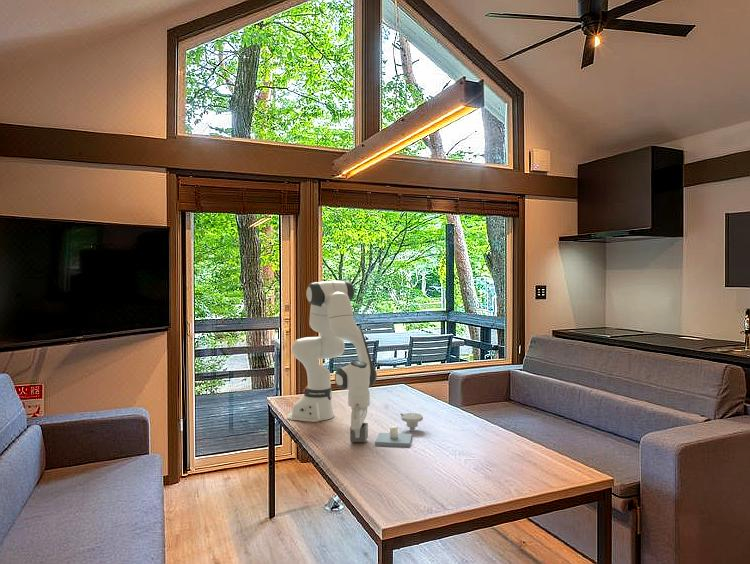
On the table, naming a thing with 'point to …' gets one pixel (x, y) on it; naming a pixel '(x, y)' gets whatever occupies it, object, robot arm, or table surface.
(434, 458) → the table surface
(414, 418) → the showerhead
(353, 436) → the collar
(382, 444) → the base
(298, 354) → the robot arm
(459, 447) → the table surface
